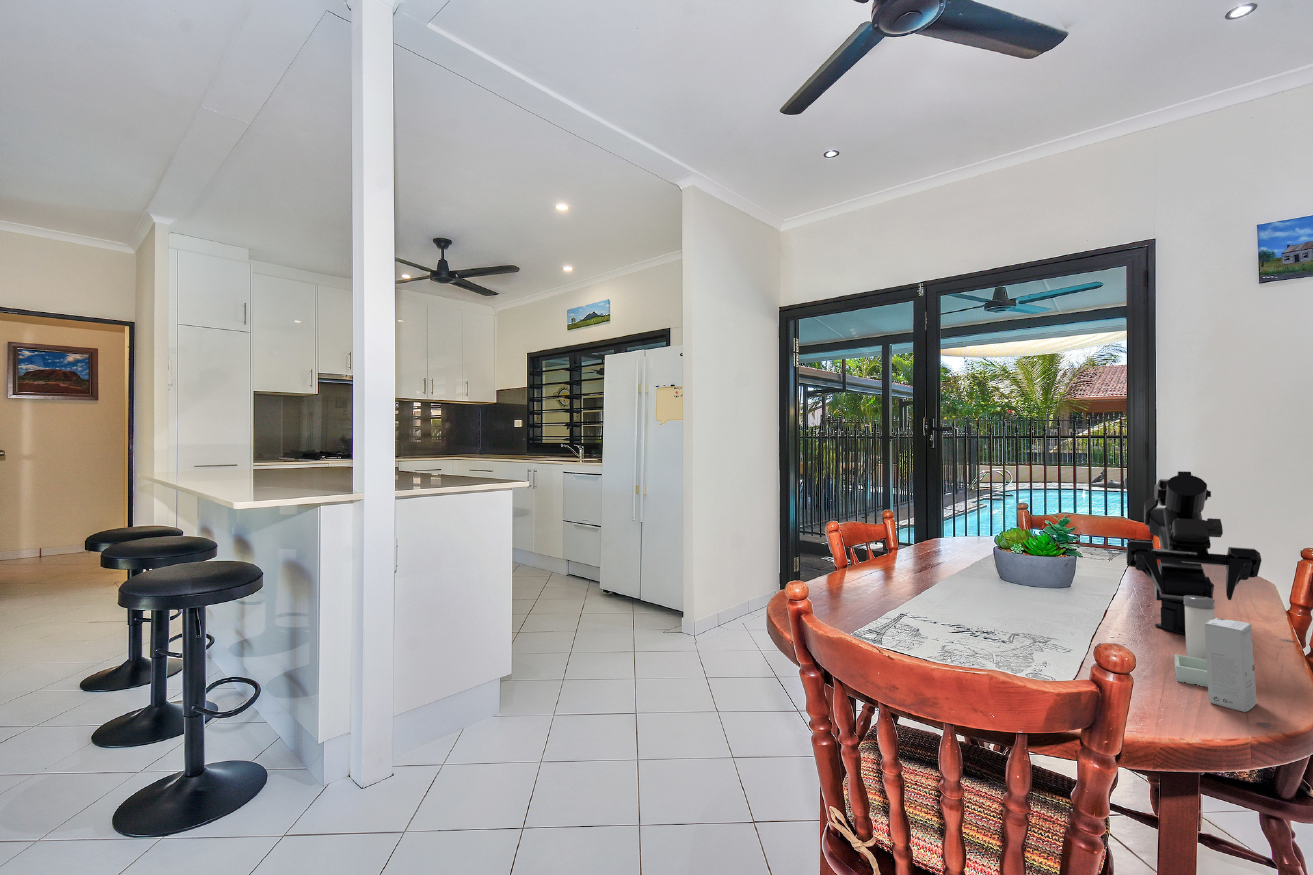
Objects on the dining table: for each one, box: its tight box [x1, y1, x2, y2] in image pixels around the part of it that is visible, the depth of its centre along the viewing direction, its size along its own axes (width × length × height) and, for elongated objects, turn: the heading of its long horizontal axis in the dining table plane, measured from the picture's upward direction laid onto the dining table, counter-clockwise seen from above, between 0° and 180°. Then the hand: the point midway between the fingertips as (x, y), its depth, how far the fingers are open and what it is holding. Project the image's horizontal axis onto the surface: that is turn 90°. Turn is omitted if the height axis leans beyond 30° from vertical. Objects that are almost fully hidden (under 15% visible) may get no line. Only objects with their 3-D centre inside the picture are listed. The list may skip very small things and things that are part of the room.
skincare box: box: [1205, 617, 1257, 713], centre depth 86 cm, size 6×4×12 cm
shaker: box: [1184, 595, 1216, 660], centre depth 101 cm, size 4×4×12 cm
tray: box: [1174, 653, 1208, 688], centre depth 95 cm, size 7×7×2 cm
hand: (1195, 595), depth 105 cm, fingers open, 9 cm apart
